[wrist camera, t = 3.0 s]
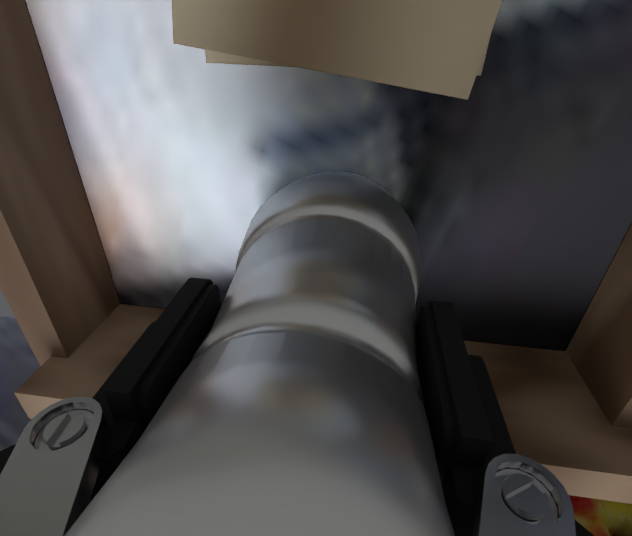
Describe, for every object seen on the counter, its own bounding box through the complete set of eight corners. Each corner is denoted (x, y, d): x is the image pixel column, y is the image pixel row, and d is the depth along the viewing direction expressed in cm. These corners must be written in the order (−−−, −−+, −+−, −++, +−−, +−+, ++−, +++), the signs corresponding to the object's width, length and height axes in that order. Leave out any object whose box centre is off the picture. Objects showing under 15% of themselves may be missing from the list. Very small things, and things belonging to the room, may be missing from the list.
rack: (831, -32, 10) (1314, -108, 5) (585, 381, 18) (667, 512, 13) (-32, -41, 12) (-315, -98, 7) (101, 326, 21) (13, 418, 16)
